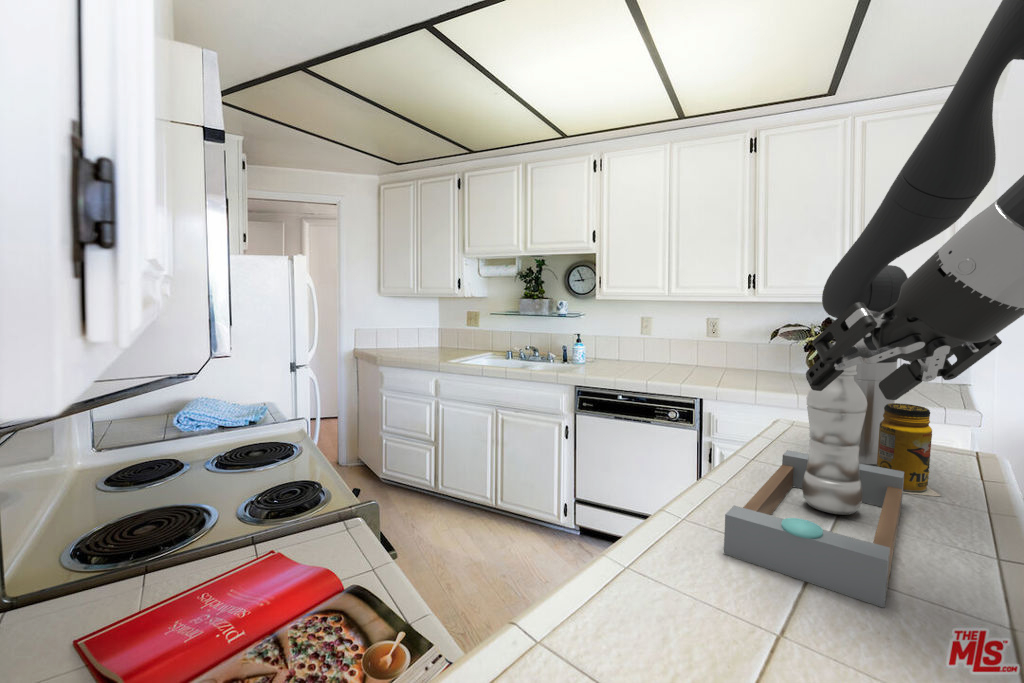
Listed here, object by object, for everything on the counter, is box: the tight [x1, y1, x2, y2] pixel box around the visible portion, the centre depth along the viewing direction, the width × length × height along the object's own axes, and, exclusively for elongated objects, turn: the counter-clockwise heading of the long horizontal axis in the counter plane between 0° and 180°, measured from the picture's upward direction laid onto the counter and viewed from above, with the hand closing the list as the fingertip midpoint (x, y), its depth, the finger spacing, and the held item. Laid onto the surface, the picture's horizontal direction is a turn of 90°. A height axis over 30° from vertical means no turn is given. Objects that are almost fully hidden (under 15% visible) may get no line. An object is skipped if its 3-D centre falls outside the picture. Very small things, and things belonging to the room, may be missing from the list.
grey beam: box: [781, 449, 904, 508], centre depth 68 cm, size 14×4×5 cm, turn 48°
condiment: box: [876, 402, 942, 497], centre depth 71 cm, size 7×8×12 cm
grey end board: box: [723, 505, 890, 609], centre depth 49 cm, size 14×4×5 cm, turn 48°
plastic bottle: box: [802, 365, 867, 516], centre depth 62 cm, size 6×7×20 cm
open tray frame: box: [742, 464, 903, 589], centre depth 59 cm, size 14×23×3 cm, turn 138°
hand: (848, 388), depth 50 cm, fingers open, 8 cm apart
